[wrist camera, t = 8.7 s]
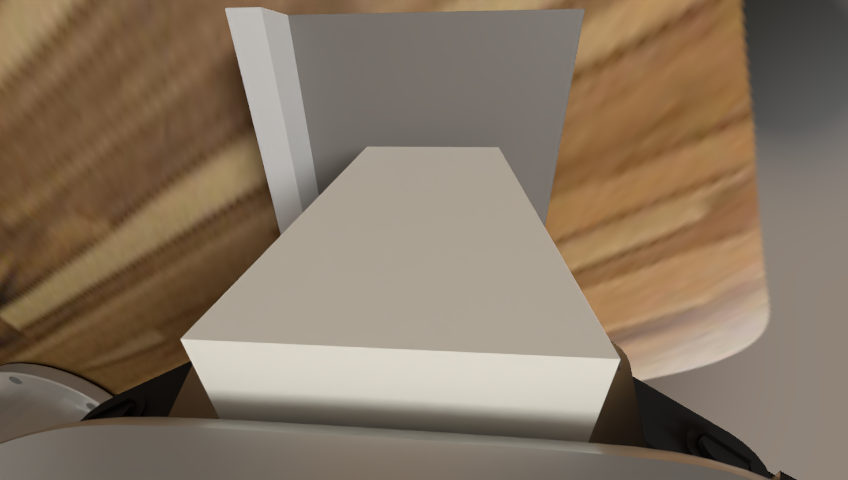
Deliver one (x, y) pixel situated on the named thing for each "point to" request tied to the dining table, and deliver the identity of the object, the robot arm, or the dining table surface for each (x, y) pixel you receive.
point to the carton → (411, 310)
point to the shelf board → (403, 90)
